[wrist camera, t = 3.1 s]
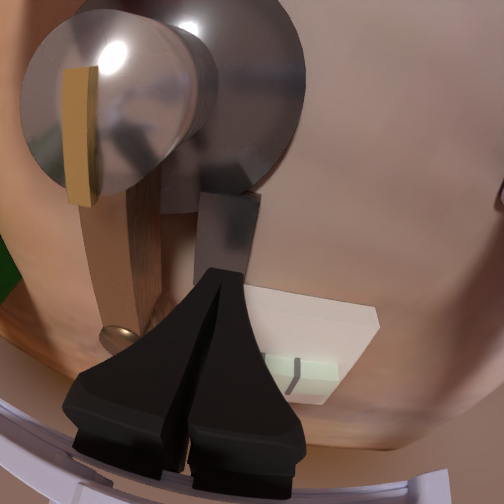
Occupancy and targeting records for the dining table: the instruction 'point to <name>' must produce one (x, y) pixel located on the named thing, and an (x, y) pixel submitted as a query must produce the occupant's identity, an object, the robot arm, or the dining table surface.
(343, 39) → the dining table surface
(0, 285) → the milk carton
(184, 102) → the round-headed metal tool
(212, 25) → the dial base
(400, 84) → the dining table surface
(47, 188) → the dining table surface
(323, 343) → the stand board
